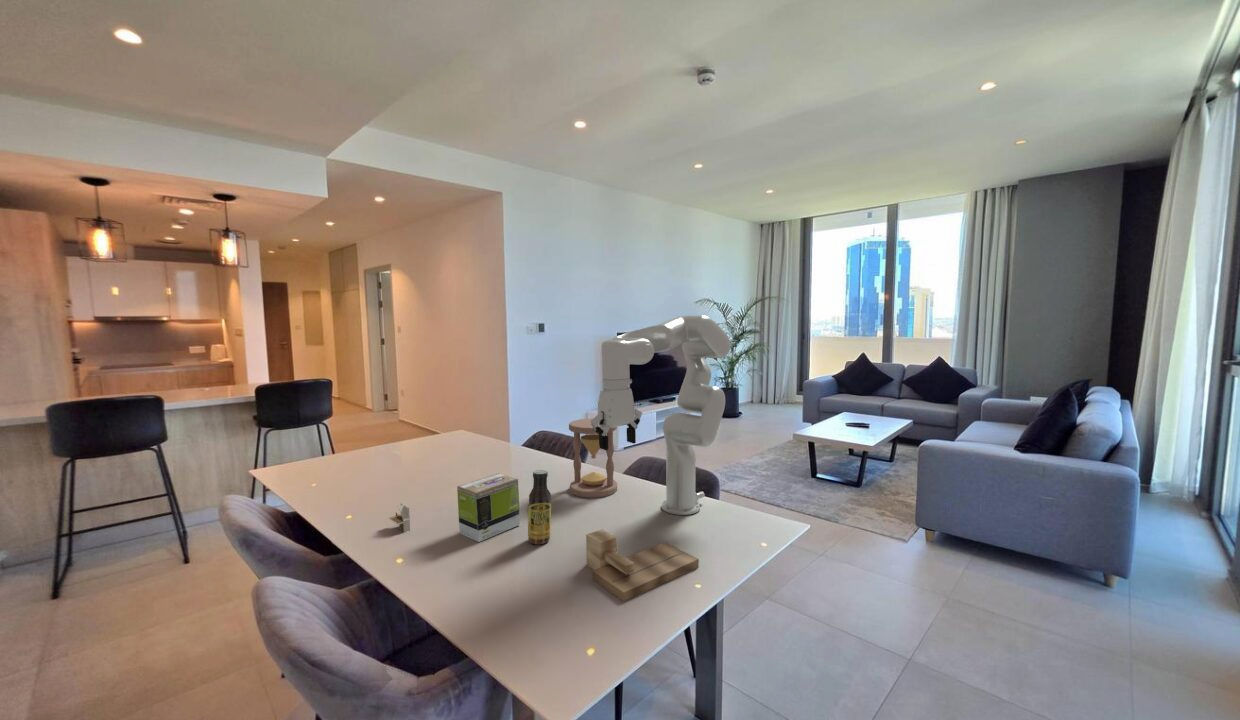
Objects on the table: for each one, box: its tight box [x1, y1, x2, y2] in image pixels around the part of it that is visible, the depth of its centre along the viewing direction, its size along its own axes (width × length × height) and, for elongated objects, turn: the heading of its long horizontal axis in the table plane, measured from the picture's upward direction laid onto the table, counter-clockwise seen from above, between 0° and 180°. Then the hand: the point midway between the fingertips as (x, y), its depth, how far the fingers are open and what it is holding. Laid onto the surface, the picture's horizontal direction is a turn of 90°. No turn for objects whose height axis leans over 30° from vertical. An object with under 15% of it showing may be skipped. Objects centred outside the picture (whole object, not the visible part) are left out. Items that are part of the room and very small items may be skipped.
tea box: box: [456, 473, 521, 543], centre depth 142 cm, size 15×10×15 cm, turn 141°
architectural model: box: [388, 503, 411, 533], centre depth 143 cm, size 3×7×7 cm, turn 48°
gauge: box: [585, 528, 634, 575], centre depth 117 cm, size 5×14×8 cm, turn 38°
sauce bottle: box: [527, 469, 552, 546], centre depth 134 cm, size 7×6×20 cm
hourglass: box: [568, 418, 618, 499], centre depth 176 cm, size 18×18×25 cm
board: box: [592, 541, 700, 602], centre depth 117 cm, size 24×12×2 cm, turn 128°
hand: (617, 445), depth 133 cm, fingers open, 9 cm apart
